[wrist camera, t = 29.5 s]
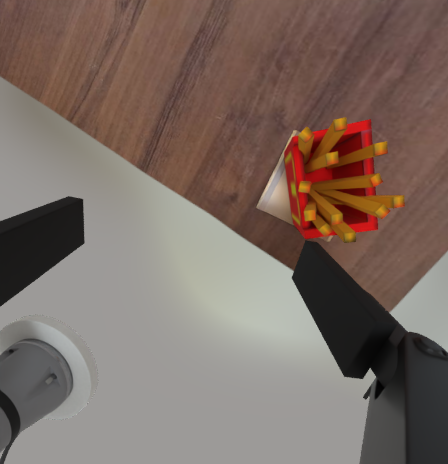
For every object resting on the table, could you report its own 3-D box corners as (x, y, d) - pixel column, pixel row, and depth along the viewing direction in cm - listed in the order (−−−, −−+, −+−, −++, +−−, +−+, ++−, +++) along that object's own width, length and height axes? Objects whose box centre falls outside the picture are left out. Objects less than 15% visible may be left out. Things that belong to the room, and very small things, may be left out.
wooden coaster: (327, 241, 31) (329, 242, 30) (255, 207, 32) (255, 207, 31) (372, 166, 28) (375, 165, 28) (293, 131, 29) (294, 129, 28)
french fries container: (287, 223, 31) (306, 251, 17) (278, 154, 29) (290, 126, 16) (342, 214, 29) (410, 238, 16) (336, 142, 28) (404, 99, 14)
